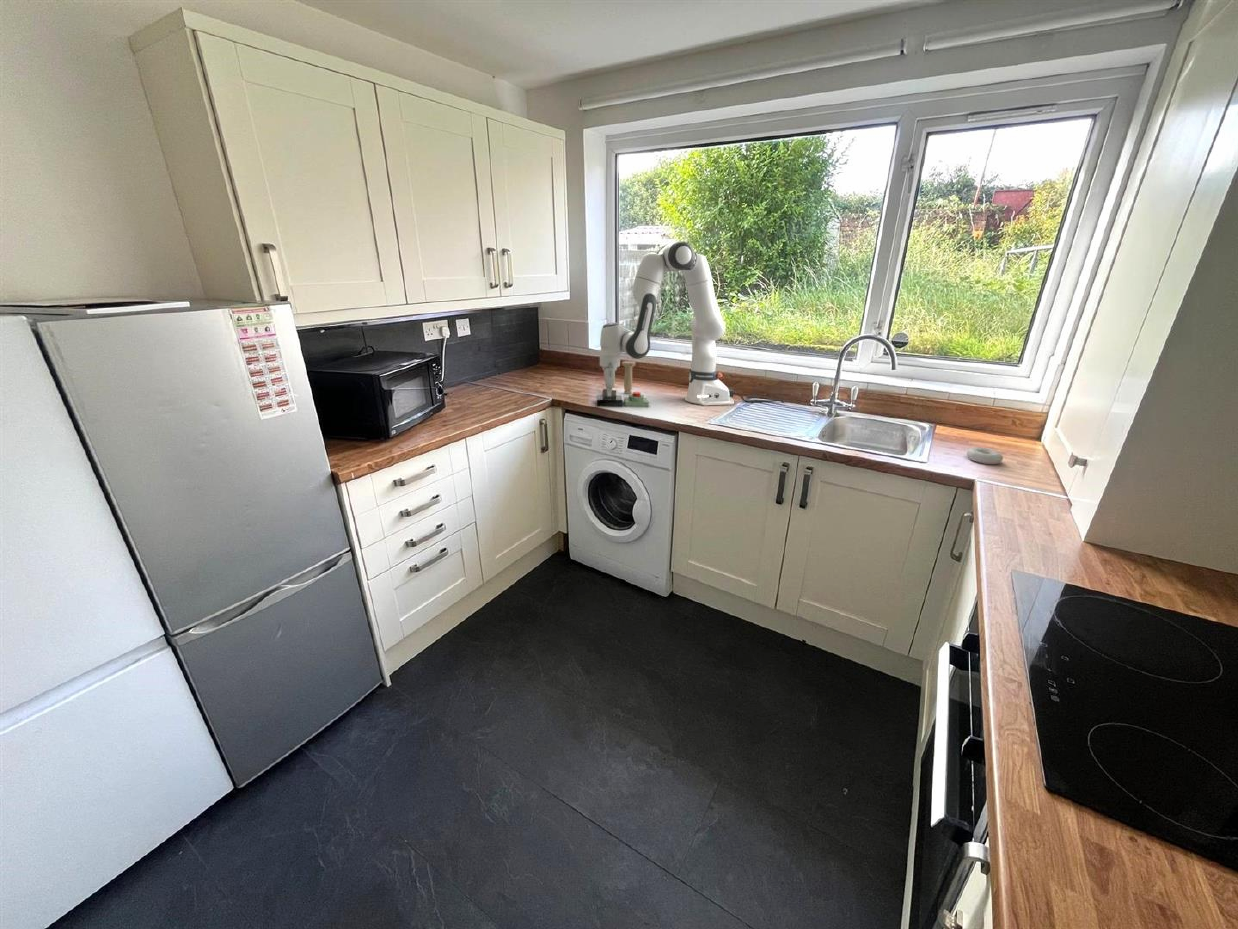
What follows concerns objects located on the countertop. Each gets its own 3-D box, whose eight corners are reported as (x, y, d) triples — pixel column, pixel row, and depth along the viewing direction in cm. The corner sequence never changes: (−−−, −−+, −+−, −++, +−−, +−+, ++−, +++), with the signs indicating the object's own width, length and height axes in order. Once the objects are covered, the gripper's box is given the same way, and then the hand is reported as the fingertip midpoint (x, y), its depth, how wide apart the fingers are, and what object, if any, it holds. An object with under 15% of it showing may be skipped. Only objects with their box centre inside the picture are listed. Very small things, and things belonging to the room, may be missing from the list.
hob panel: (620, 401, 226) (620, 394, 225) (622, 407, 216) (622, 400, 215) (596, 400, 225) (596, 394, 224) (597, 406, 216) (597, 399, 215)
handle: (635, 394, 240) (637, 362, 235) (623, 394, 238) (624, 363, 232) (631, 391, 244) (633, 361, 239) (619, 392, 242) (620, 361, 237)
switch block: (646, 402, 226) (646, 393, 224) (648, 406, 218) (648, 398, 217) (624, 402, 225) (624, 393, 224) (625, 406, 218) (625, 397, 216)
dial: (616, 396, 221) (616, 388, 219) (616, 397, 219) (616, 389, 218) (602, 396, 220) (602, 388, 219) (602, 397, 219) (602, 389, 217)
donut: (987, 467, 162) (1008, 464, 165) (990, 457, 160) (1011, 454, 163) (958, 457, 170) (979, 454, 173) (961, 447, 169) (982, 444, 172)
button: (640, 395, 222) (640, 391, 222) (640, 397, 219) (641, 393, 218) (631, 395, 222) (632, 391, 221) (632, 397, 219) (632, 393, 218)
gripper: (618, 366, 205) (617, 399, 210) (615, 358, 224) (614, 388, 229) (603, 365, 204) (602, 398, 209) (601, 357, 223) (600, 388, 228)
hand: (608, 393), depth 219 cm, fingers open, 8 cm apart
